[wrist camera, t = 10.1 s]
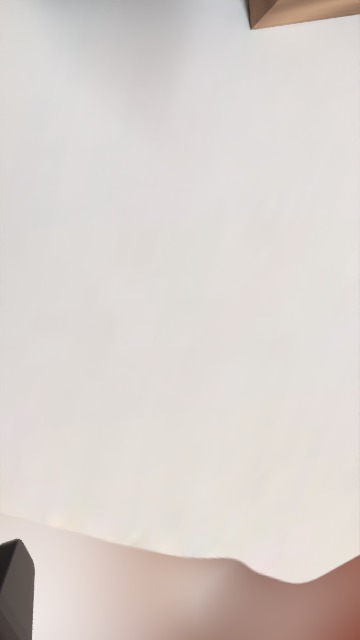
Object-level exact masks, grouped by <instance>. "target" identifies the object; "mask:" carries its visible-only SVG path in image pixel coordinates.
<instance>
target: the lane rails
mask: <svg viewBox="0 0 360 640" xmlns="http://www.w3.org/2000/svg"><path fill="white" fill-rule="evenodd" d="M249 11H250V23H251V30H253V29H260V28H267V27H274V26H280V25H287V24H294V23H301V22H308V21H315V20H322V19H329V18H336V17H342V16H349V15H356V14H360V0H249Z"/></svg>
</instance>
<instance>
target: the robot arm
mask: <svg viewBox="0 0 360 640" xmlns="http://www.w3.org/2000/svg"><path fill="white" fill-rule="evenodd" d="M34 576H35V569H34V563H33V560H32V558H31V556H30V554H29V553H28V551H27V549H26V547H25V546H24V543H23V542H22V540H20V539H14V540H11V541H8V542H5V543H2V544H1V545H0V640H32V624H33V622H32V621H33V600H34Z"/></svg>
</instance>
